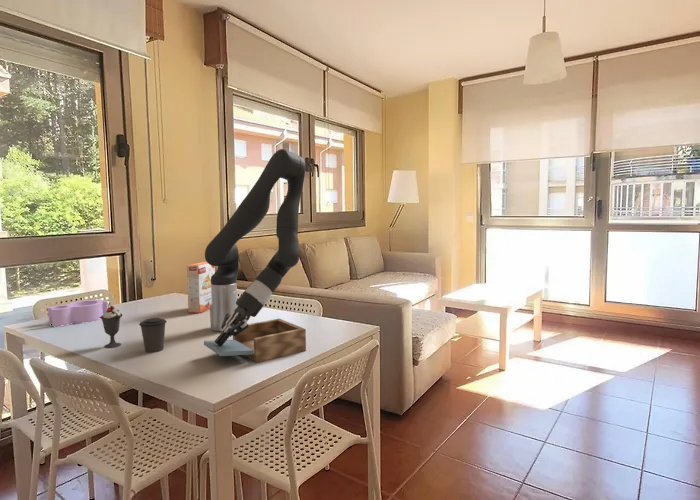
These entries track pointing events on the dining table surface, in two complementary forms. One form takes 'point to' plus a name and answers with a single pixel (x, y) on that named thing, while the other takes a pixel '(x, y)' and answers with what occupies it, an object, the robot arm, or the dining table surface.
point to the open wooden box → (272, 339)
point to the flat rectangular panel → (228, 348)
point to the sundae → (111, 325)
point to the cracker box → (199, 286)
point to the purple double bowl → (77, 312)
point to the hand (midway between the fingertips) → (217, 344)
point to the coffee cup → (153, 334)
